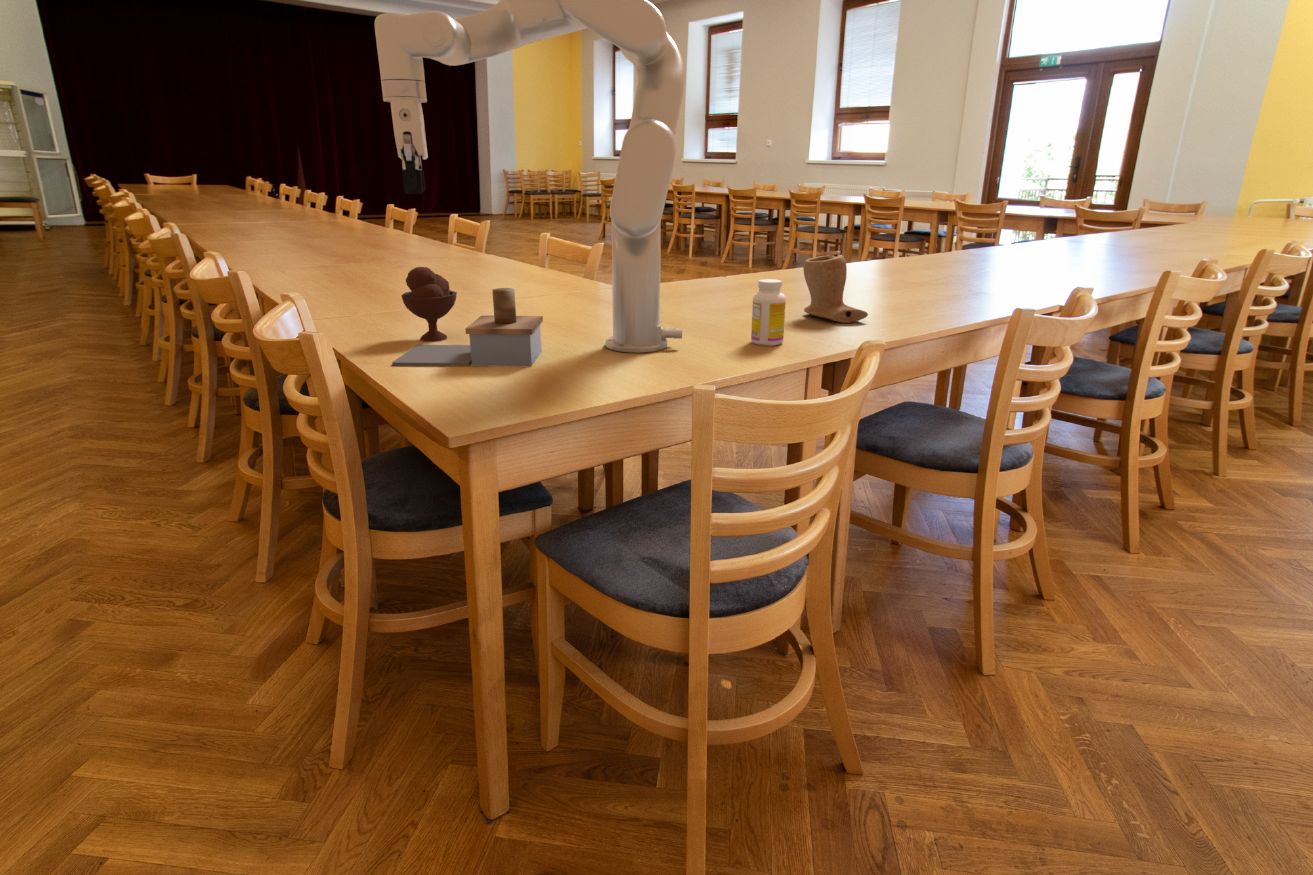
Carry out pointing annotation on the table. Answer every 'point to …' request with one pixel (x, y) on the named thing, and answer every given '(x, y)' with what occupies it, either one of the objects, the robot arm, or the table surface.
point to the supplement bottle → (768, 313)
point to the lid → (504, 317)
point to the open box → (505, 349)
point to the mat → (436, 356)
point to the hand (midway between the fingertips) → (415, 192)
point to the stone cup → (829, 289)
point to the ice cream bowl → (429, 299)
